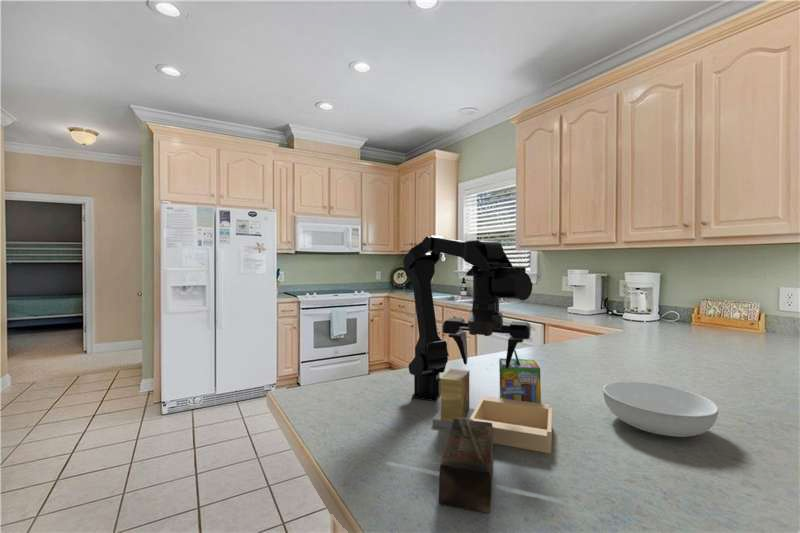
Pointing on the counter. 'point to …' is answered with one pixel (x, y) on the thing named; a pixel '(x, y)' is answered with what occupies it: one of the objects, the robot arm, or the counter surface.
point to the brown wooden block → (454, 394)
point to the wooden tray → (517, 422)
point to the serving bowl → (660, 408)
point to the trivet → (445, 423)
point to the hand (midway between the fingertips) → (486, 366)
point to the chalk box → (520, 380)
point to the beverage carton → (467, 466)
